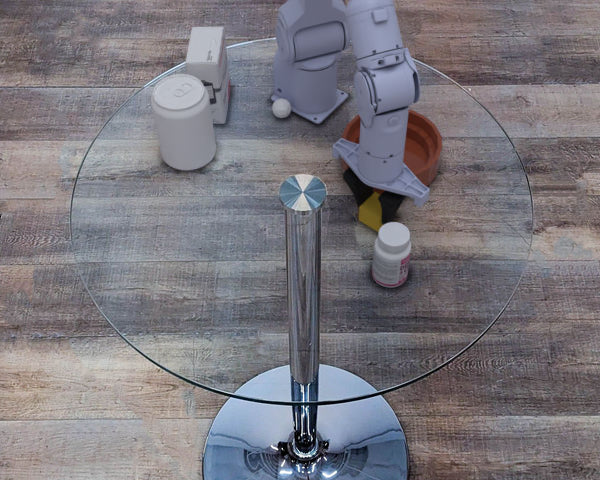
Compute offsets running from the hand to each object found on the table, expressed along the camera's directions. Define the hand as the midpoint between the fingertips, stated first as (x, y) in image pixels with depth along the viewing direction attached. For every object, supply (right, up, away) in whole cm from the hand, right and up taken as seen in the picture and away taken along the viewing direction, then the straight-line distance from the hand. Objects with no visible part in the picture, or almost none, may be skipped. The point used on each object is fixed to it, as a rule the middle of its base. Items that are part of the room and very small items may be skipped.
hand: (376, 213), depth 120 cm
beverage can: (-27, +10, +9) cm, 30 cm away
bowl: (+3, +8, +7) cm, 11 cm away
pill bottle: (+1, -9, -4) cm, 10 cm away
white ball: (-13, +16, +13) cm, 25 cm away
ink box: (-24, +18, +15) cm, 34 cm away
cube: (0, -1, +1) cm, 1 cm away
